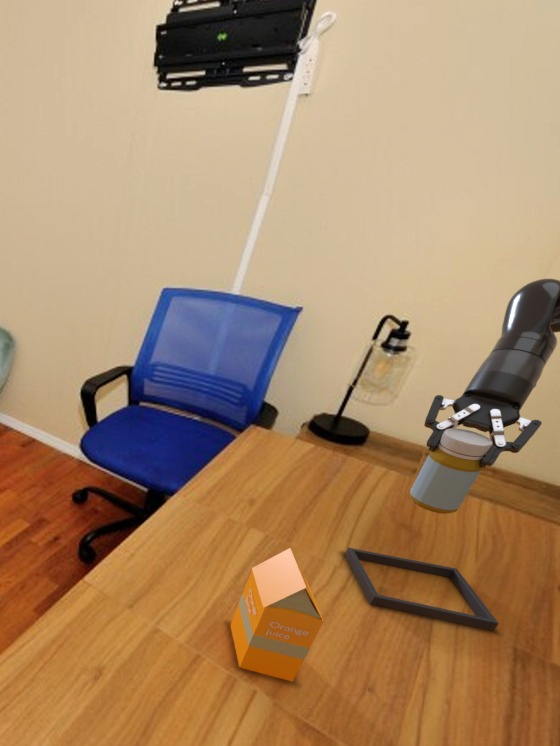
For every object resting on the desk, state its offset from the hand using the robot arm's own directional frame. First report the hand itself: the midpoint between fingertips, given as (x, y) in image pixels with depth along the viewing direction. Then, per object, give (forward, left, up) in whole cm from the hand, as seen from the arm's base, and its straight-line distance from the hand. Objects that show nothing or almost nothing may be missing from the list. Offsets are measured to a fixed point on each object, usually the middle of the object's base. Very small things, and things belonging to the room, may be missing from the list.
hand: (456, 457), depth 91 cm
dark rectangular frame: (0, +8, -26) cm, 27 cm away
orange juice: (+30, +33, -26) cm, 52 cm away
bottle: (-1, -1, -12) cm, 12 cm away
